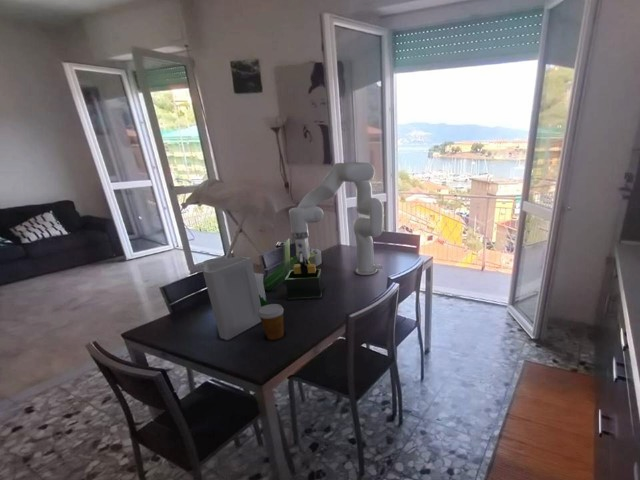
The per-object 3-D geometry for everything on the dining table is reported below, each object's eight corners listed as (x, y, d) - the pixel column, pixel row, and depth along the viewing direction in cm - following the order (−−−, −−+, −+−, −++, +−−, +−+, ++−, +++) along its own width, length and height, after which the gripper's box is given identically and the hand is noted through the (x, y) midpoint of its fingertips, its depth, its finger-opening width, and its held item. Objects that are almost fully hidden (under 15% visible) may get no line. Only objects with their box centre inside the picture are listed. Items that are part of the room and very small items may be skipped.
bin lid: (289, 237, 173) (279, 237, 172) (284, 244, 161) (273, 244, 161) (290, 269, 179) (280, 269, 179) (285, 278, 168) (275, 277, 167)
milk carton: (243, 316, 158) (233, 274, 149) (257, 307, 165) (248, 267, 157) (259, 318, 155) (250, 276, 147) (272, 310, 163) (265, 268, 154)
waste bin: (323, 288, 185) (320, 268, 181) (320, 298, 174) (318, 277, 170) (292, 290, 184) (289, 270, 180) (288, 300, 173) (285, 279, 168)
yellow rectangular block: (316, 269, 177) (315, 263, 175) (315, 272, 173) (314, 266, 171) (295, 270, 176) (294, 264, 174) (294, 273, 172) (293, 267, 170)
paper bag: (240, 313, 160) (226, 253, 149) (264, 319, 154) (252, 257, 143) (202, 332, 145) (184, 267, 133) (227, 340, 139) (210, 272, 127)
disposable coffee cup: (266, 330, 145) (261, 304, 140) (289, 329, 146) (285, 302, 141) (260, 342, 137) (254, 314, 132) (285, 341, 137) (280, 313, 132)
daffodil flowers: (252, 288, 189) (294, 254, 212) (274, 304, 188) (314, 268, 211) (253, 269, 176) (298, 235, 199) (277, 285, 175) (319, 249, 198)
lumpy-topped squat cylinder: (300, 265, 219) (298, 252, 215) (311, 259, 230) (309, 246, 227) (315, 267, 216) (313, 253, 212) (325, 260, 227) (324, 247, 224)
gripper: (306, 239, 159) (311, 277, 167) (310, 230, 175) (314, 265, 182) (289, 239, 159) (294, 278, 166) (295, 231, 174) (300, 266, 181)
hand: (305, 271), depth 174 cm, fingers closed on yellow rectangular block, 4 cm apart
